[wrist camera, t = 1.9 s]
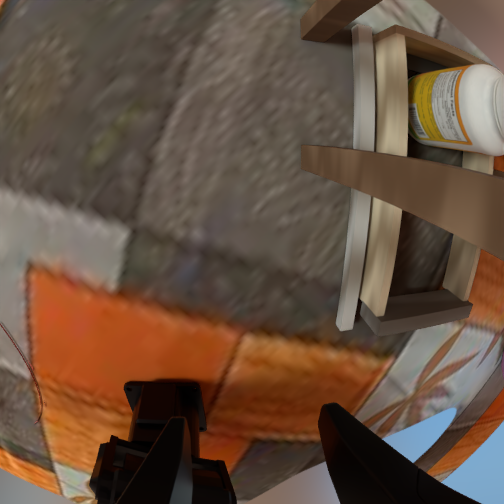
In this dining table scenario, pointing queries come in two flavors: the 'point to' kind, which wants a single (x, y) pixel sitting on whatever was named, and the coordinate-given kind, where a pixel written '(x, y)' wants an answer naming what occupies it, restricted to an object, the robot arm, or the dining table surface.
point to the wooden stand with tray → (394, 164)
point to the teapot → (503, 365)
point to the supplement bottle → (458, 109)
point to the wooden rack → (389, 217)
